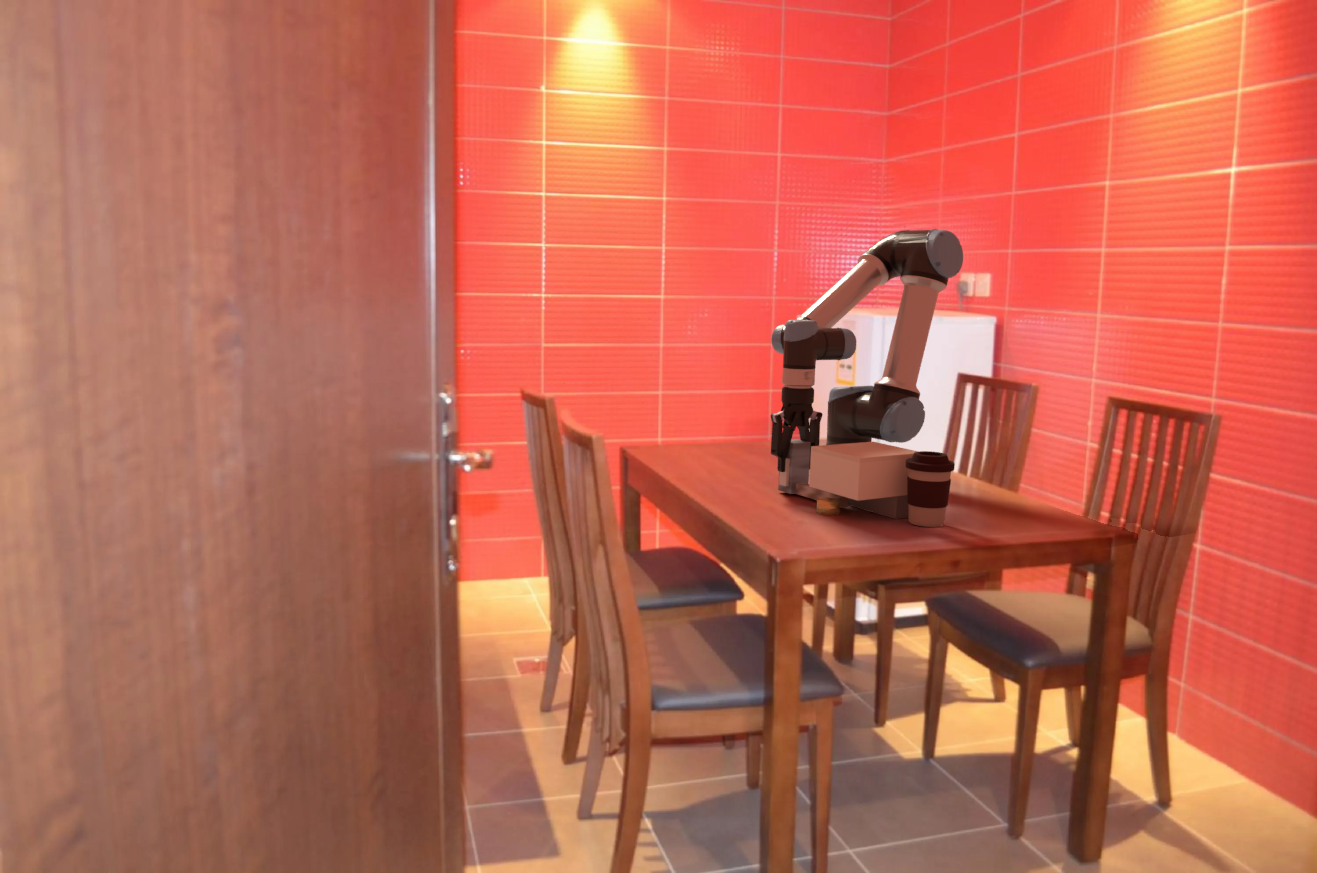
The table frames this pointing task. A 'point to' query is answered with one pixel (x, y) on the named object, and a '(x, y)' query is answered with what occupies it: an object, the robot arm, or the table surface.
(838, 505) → the cylinder
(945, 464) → the coffee cup
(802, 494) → the grey l-shaped bracket
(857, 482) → the beige grey overhanging block
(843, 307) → the robot arm
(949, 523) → the table surface
